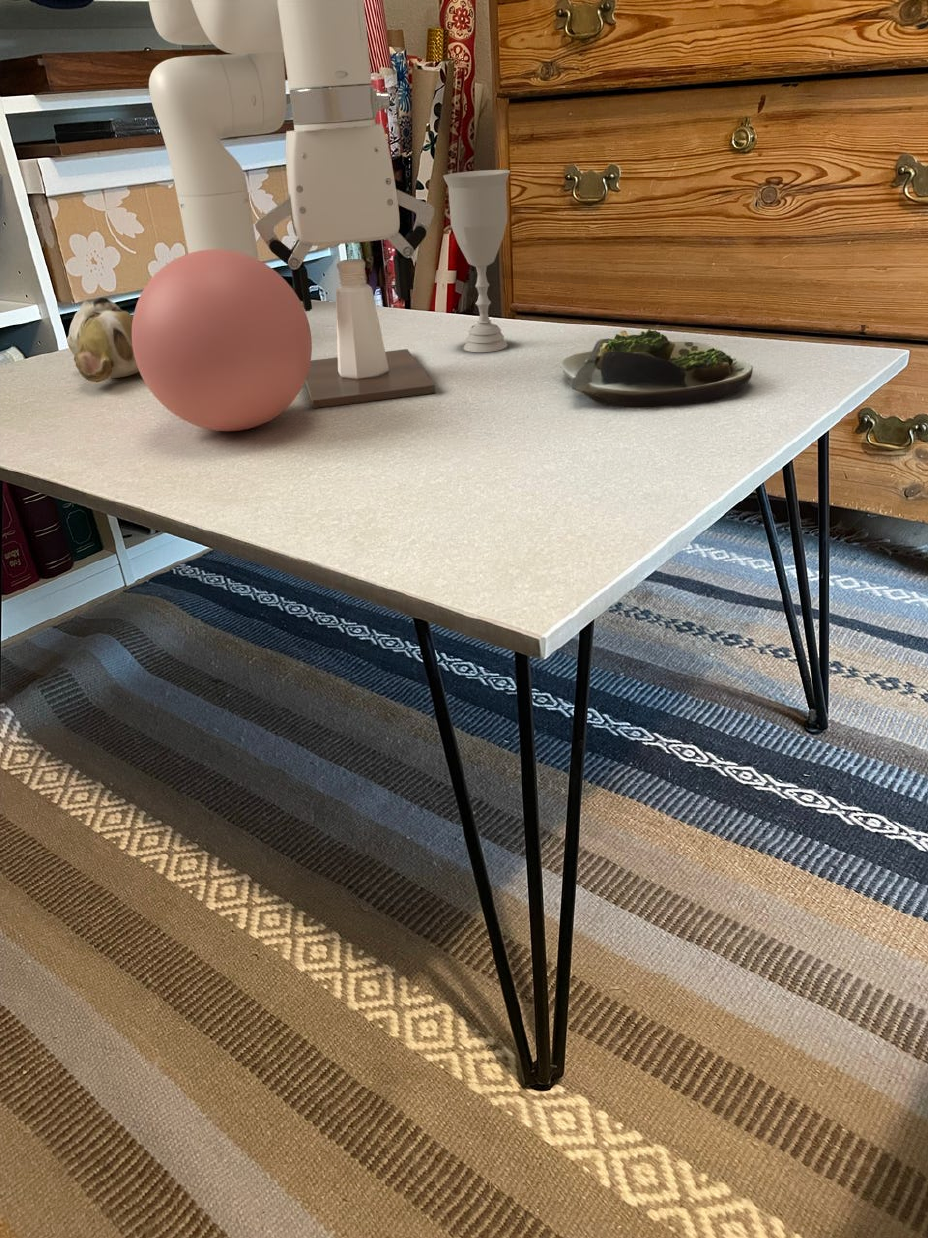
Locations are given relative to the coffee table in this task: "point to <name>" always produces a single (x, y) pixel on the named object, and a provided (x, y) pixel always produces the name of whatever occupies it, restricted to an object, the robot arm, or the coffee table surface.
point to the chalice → (480, 239)
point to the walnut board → (367, 381)
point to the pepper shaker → (358, 325)
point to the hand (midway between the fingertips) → (355, 303)
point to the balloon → (221, 340)
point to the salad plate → (654, 371)
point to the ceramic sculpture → (102, 341)
